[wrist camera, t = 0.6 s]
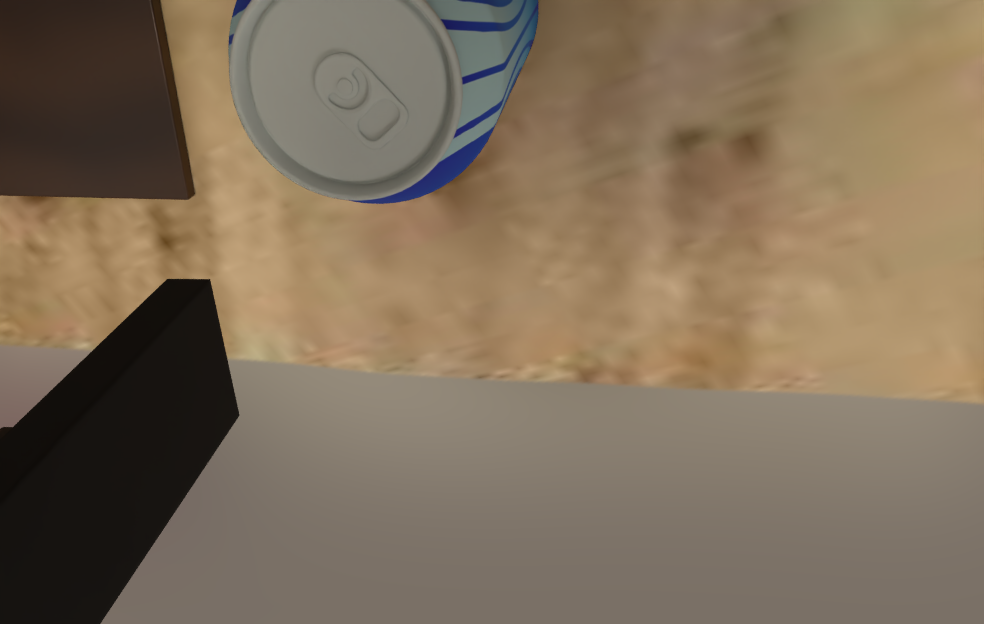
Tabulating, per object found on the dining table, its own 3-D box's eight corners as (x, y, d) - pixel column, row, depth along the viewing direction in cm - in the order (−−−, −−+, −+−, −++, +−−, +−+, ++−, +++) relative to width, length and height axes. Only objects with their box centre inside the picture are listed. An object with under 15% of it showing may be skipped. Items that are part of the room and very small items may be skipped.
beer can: (364, 104, 41) (230, 234, 27) (336, -95, 37) (164, -66, 23) (545, 96, 40) (505, 227, 26) (535, -111, 36) (482, -91, 22)
